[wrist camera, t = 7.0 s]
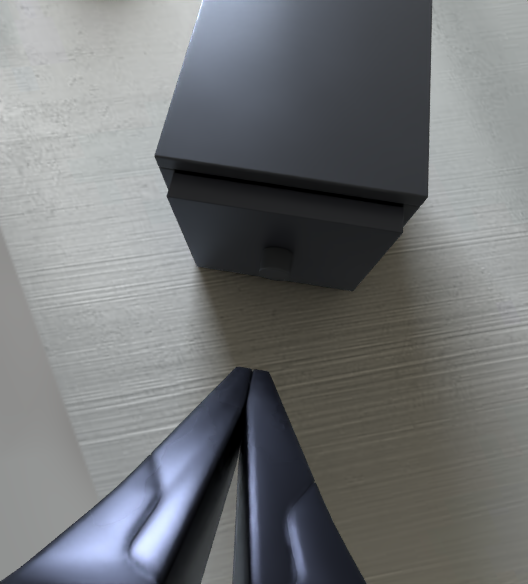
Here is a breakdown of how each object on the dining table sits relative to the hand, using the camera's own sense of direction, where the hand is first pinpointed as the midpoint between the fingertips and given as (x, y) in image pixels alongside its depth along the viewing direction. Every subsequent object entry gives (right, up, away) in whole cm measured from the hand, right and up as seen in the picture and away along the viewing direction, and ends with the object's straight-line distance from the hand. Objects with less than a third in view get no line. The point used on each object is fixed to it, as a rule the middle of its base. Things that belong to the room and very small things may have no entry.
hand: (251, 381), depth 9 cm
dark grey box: (+2, +10, +16) cm, 18 cm away
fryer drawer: (+2, +8, +14) cm, 16 cm away
